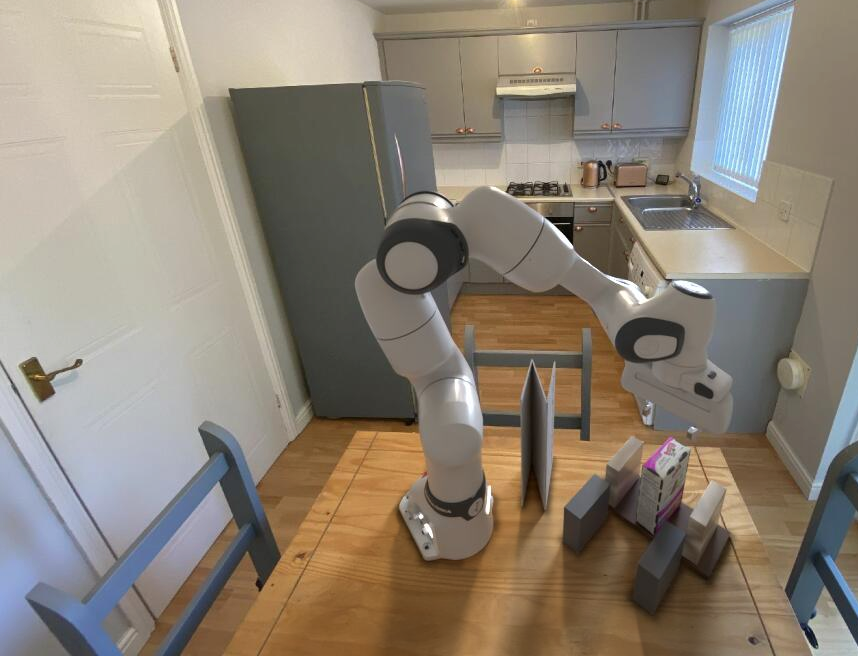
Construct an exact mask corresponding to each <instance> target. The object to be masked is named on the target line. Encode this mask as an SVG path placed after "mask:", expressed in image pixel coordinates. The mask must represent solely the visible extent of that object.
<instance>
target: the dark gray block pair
mask: <svg viewBox="0 0 858 656" xmlns="http://www.w3.org/2000/svg"><path fill="white" fill-rule="evenodd" d="M610 486H611V484H610V483H609V482H607V481H605V478H603V477H601V476H600V475H598V474H597V473H593V475H592V476H591V477H590V478H589V479H588V480H587V481H586V482H585V483H584V484H583V486H582V487H581V488H579V490H578V491H577V492H576V493H575V494H574V495H573V496H572V498H570V500H569V501H568V502H566V504H565V505H564V506H563V520H562V521H563V523H562V541H563V542H564V543H565V544H566V545H567V546H568V547H570V549H572V550H573V551H574V552H576V553H577V554H579V553H581V551H582V550H583V548H584V547H585V546H586V545H587V543H588V542H589V541H590V539H592V537H593V536H594V535H595V533H596V532H597V531H598V530H599V528H600V527H601V526H602V524H604V522H605V521H606V519H607V518H608V515H609V510H608V506H609V496H610ZM685 537H686V533H684V532H683V531H681V530H680V529H678V528H677V527H675V526H674V525H672V524H671V523H669V522H668V521H666V520H665V522H664V523H663V525H662V527H661V528H660V530H659V531H658V533H657V534H656V536H655V537H654V539H653V540H652V541H651V542H650V543H649V545H648V547H647V548H646V549H645V551H644V552H643V554H642V556H641V557H640V558H639V560H638V562H637V565H636V572H635V578H634V579H635V580H634V584H633V592H632V596H631V597H632V598H631V599H632V600H633V601H635V602H636V604H638V605H639V606H641V607H642V608H643V609H644V610H645V611H647V612H648V613H649V614H650V615H651V616H654V614H655V612H656V610H657V609H658V607H659V605H660V603H661V601H662V600H663V598H664V596H665V594H666V592H667V590H668V589H669V587H670V585H671V583H672V582H673V580H674V578H675V576H676V574H677V572H678V571H679V569H680V565H681V561H680V560H681V556H682V551H683V546H684V542H685Z"/></svg>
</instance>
